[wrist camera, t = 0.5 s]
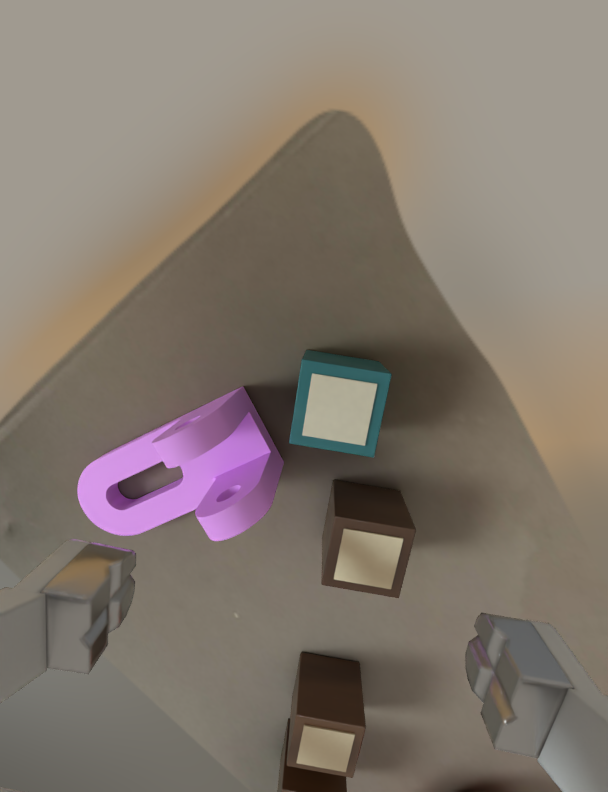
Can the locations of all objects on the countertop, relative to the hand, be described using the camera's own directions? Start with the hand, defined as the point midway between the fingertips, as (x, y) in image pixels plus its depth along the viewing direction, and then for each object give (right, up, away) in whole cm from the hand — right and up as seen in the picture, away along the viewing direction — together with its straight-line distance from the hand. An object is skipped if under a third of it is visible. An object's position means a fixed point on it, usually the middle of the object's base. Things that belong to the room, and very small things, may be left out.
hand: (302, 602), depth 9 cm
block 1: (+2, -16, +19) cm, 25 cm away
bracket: (-8, 0, +16) cm, 18 cm away
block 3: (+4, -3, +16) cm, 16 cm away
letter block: (+2, +5, +14) cm, 15 cm away
